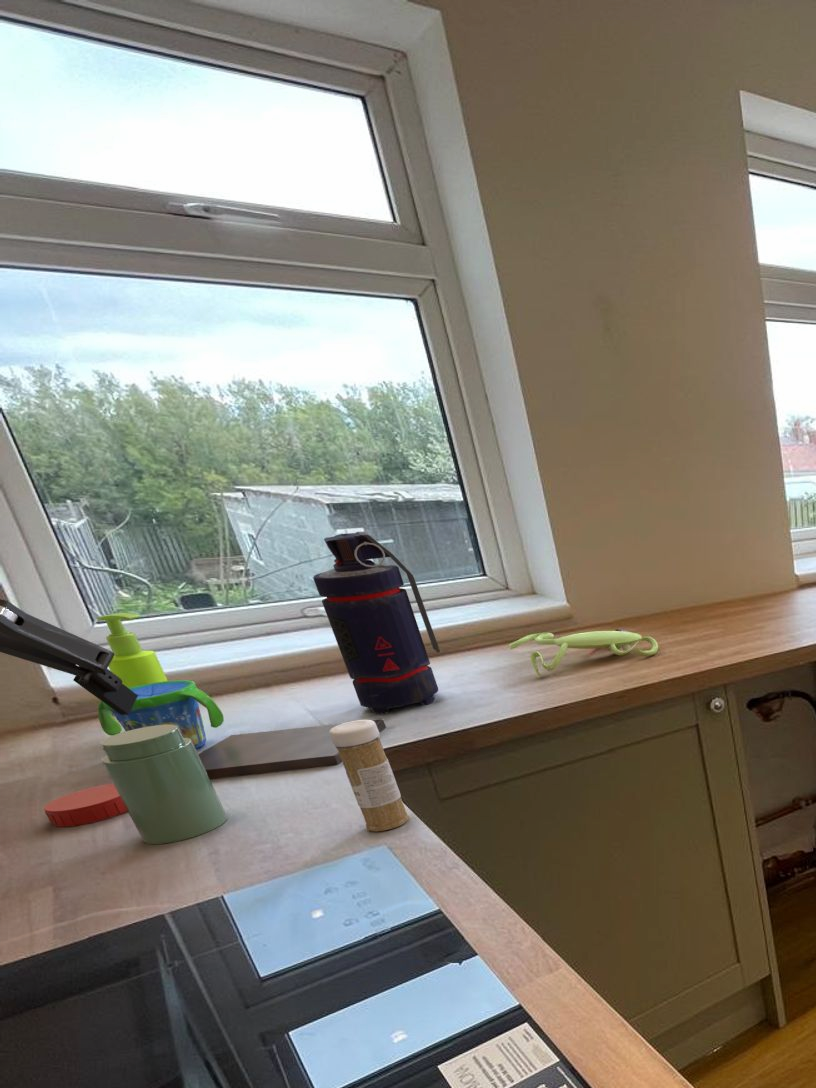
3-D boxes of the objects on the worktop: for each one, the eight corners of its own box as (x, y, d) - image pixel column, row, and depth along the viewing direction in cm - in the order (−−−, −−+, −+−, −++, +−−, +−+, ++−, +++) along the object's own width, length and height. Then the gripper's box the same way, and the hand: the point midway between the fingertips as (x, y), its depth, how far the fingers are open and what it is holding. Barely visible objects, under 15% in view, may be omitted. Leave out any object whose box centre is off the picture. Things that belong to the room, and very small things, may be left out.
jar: (126, 848, 99) (74, 751, 94) (171, 819, 106) (125, 727, 101) (202, 838, 100) (155, 742, 95) (241, 810, 108) (199, 719, 103)
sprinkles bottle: (364, 824, 102) (325, 725, 97) (407, 812, 105) (371, 715, 100) (370, 836, 99) (330, 735, 94) (414, 823, 102) (377, 724, 97)
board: (165, 784, 117) (161, 774, 116) (234, 743, 131) (231, 735, 131) (337, 764, 121) (334, 755, 121) (386, 727, 136) (383, 718, 135)
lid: (106, 823, 106) (98, 807, 105) (32, 830, 105) (23, 814, 104) (158, 794, 114) (151, 779, 113) (90, 801, 113) (82, 786, 112)
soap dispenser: (171, 734, 137) (115, 618, 129) (131, 735, 137) (73, 619, 129) (203, 721, 142) (151, 609, 134) (165, 722, 143) (111, 611, 135)
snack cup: (253, 734, 135) (228, 676, 131) (198, 760, 125) (169, 698, 121) (157, 740, 134) (129, 681, 130) (95, 766, 125) (62, 704, 121)
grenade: (366, 719, 140) (300, 542, 128) (359, 703, 148) (296, 536, 136) (458, 699, 148) (404, 531, 136) (446, 685, 156) (395, 526, 144)
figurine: (513, 660, 171) (505, 634, 169) (645, 637, 184) (640, 613, 182) (520, 681, 157) (512, 653, 155) (663, 655, 170) (658, 629, 168)
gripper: (-336, 610, 71) (-91, 742, 89) (4, 600, 75) (173, 728, 93) (-278, 549, 75) (-54, 688, 92) (42, 543, 79) (197, 677, 97)
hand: (60, 708), depth 93 cm, fingers open, 13 cm apart
